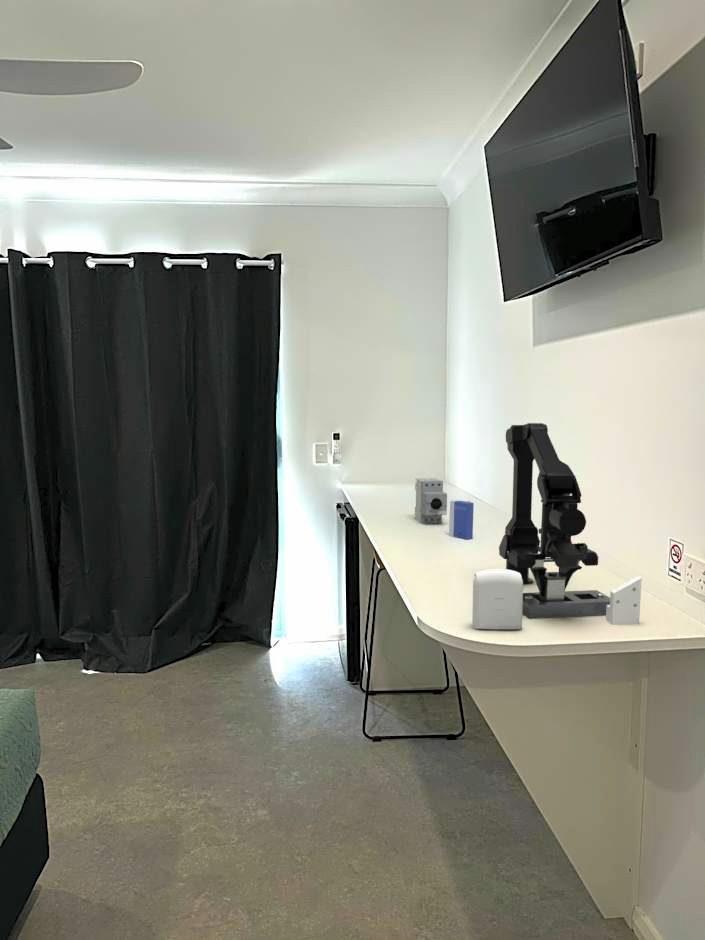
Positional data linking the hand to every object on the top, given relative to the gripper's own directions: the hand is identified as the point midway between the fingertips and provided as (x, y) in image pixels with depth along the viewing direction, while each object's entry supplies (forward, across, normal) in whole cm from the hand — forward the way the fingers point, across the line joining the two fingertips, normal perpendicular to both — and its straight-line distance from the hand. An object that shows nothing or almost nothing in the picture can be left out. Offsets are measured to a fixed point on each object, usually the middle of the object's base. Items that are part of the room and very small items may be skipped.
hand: (551, 595), depth 168 cm
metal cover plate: (+4, +3, 0) cm, 5 cm away
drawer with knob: (+1, 0, 0) cm, 1 cm away
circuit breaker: (+4, +1, +103) cm, 103 cm away
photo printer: (+4, -16, -9) cm, 19 cm away
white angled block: (+4, +12, -9) cm, 16 cm away
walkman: (+4, +4, +78) cm, 78 cm away
